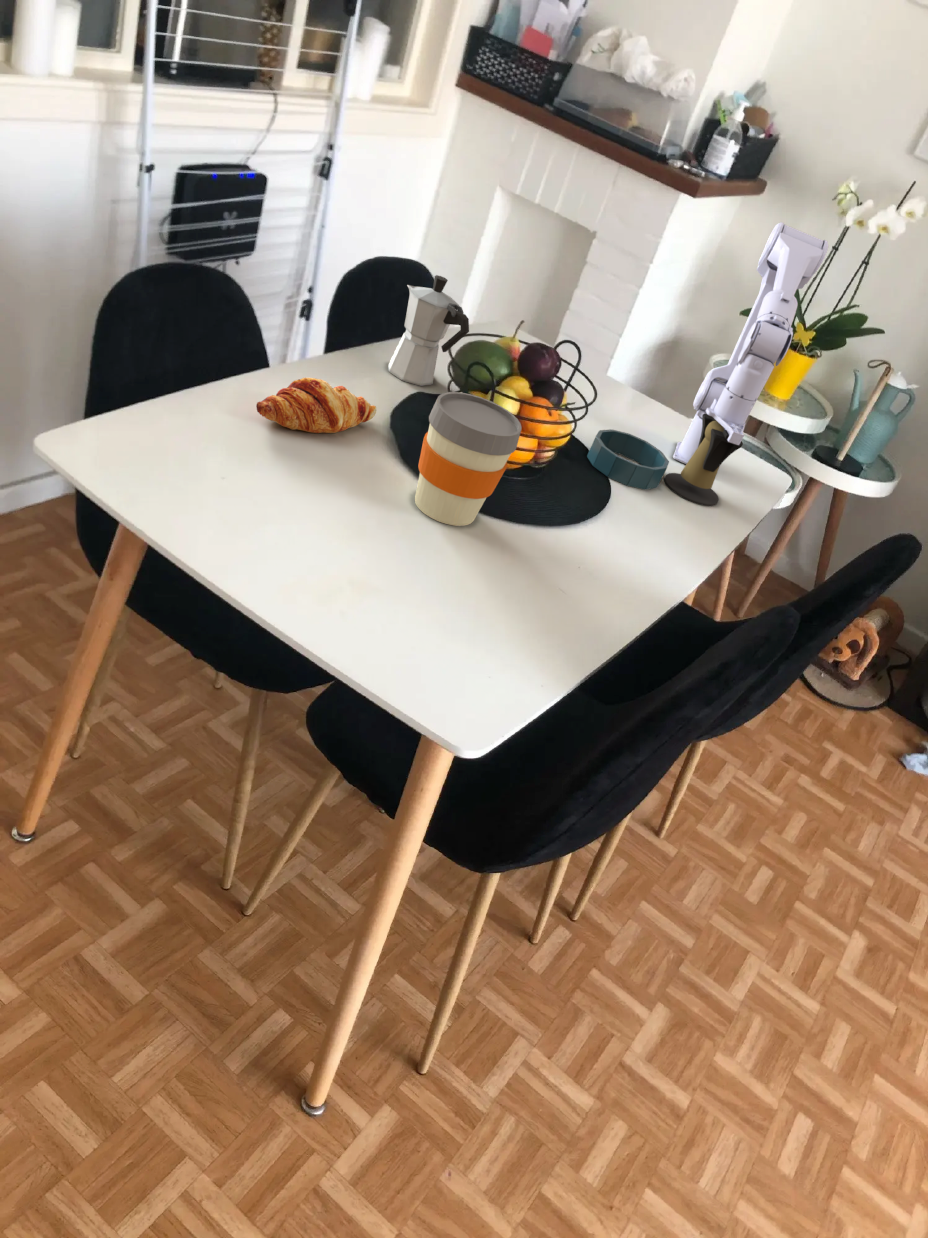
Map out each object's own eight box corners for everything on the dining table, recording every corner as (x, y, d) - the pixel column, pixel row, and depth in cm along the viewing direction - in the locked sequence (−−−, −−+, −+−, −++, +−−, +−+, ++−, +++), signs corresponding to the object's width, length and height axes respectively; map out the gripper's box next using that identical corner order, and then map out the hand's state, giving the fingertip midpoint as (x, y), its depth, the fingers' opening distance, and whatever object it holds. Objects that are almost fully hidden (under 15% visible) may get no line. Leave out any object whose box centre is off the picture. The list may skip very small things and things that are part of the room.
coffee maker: (369, 359, 179) (398, 260, 170) (401, 356, 186) (430, 261, 176) (429, 399, 173) (462, 299, 164) (460, 394, 180) (494, 298, 170)
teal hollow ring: (595, 441, 183) (603, 422, 181) (662, 471, 182) (672, 452, 180) (581, 465, 172) (590, 444, 170) (653, 497, 171) (663, 477, 169)
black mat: (667, 468, 184) (668, 466, 184) (719, 492, 184) (720, 490, 183) (660, 488, 176) (661, 486, 175) (715, 512, 175) (716, 510, 175)
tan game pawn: (712, 492, 176) (742, 437, 170) (680, 479, 176) (709, 424, 170) (711, 479, 181) (740, 425, 175) (680, 467, 181) (708, 412, 175)
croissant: (355, 430, 161) (354, 379, 160) (396, 432, 154) (396, 379, 153) (240, 432, 147) (238, 376, 145) (280, 434, 140) (278, 375, 138)
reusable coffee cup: (435, 477, 149) (468, 385, 141) (502, 520, 145) (539, 428, 137) (384, 495, 140) (416, 397, 132) (455, 541, 135) (492, 443, 128)
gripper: (710, 370, 175) (676, 439, 182) (729, 402, 163) (692, 474, 170) (746, 382, 176) (711, 450, 183) (768, 415, 164) (729, 486, 171)
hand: (704, 463), depth 177 cm, fingers closed on tan game pawn, 5 cm apart
